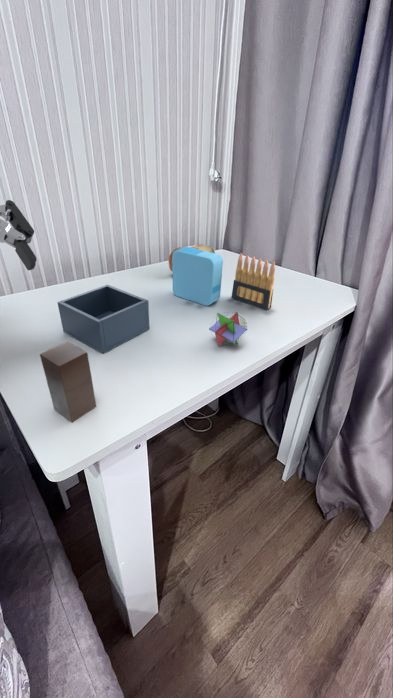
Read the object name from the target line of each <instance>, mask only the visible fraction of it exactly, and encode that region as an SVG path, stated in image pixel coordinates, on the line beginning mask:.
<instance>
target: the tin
mask: <svg viewBox="0 0 393 698" xmlns="http://www.w3.org/2000/svg"><path fill="white" fill-rule="evenodd" d="M184 247H185V246H180V247H177V248H175V249H174V250H172V251H171V252H170V254H169V257H168V268H169V270H170V271H171V273H173V253H174V251H176V250H179V249H181V248H184ZM186 247H191V248H195V249H199V250H203V251H207V252H212V253H216V252H215V250H214V249H213V247H211V246H209V245H206V244H195V245H187V246H186Z"/></svg>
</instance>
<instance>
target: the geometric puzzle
mask: <svg viewBox="0 0 393 698" xmlns="http://www.w3.org/2000/svg"><path fill="white" fill-rule="evenodd" d="M225 313H228V312H225ZM216 315H217V318H215V319H216V321H215V323H214V321H212V323H211V324H210V327H209V328H208V330H209V332H210V334H211V335H213V333H214V334H215V338H216V339H215V340H216V341H215V343H216V345H218V346H217V347H218V348H219V347H224V346H227V347H228V346H229V345H231V343H232V344H233V343H234V344H235V345H236V346H238V345H239V342H240V341H241V340H242V339H240V337H242V336H243V335H244V334H246V333H247V331H248V330H249V328H248V325H247V324H248V323H247V320H246V318H245V317H244V316H243V315H242V314H240V313H239V311H238V310H237V311H235V312H234V313H233V315H232V316H231V317H229V318H228V317H226V316H228V314H226V315H223V314H221V313H219V312H217V313H216ZM239 317H240V318H239ZM213 323H214V324H213ZM212 324H213V325H212ZM212 332H213V333H212ZM226 340H228V341H230V343H228V344H227V343H225V344H223V343H224V342H226ZM239 340H240V341H239Z"/></svg>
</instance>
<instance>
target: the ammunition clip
mask: <svg viewBox="0 0 393 698" xmlns="http://www.w3.org/2000/svg"><path fill="white" fill-rule="evenodd" d="M250 260H251V261H250ZM243 261H244V262H243ZM262 261H263V260H262V257H259V259H258V261H257V263H256V256H255V255H253V256H252V258H251V259H250V256H249V254H247V253H246V255H245V258H244V260H243V253H242V252H240V253H239V255H238V257H237V264H236V269H235V275H234V279H233V282H232V283H233V284H232V291H231V296H230V298H231V299H232V300H234V301H238V302H239V303H240V302H241V303H244V304H246V305H250V306H253V307H256V308H258V309H262V310H264V311H269V310H271V308H272V305H273V304H272V302H273V297H274V296H273V294H274V284H275V272H276V262H275V260H273V261H272V262H271V265H270V268H269V260H268V259H267V258H266V259H265V261H264V264H263V262H262Z"/></svg>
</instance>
